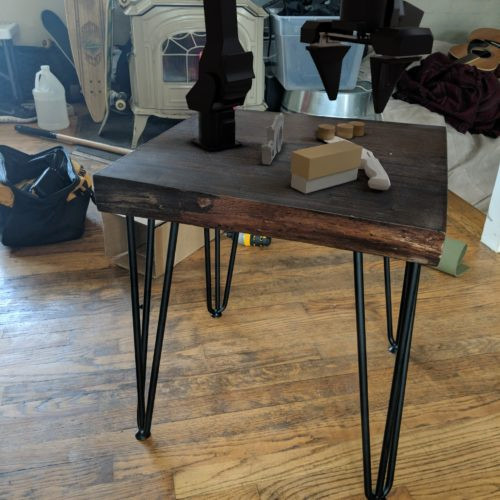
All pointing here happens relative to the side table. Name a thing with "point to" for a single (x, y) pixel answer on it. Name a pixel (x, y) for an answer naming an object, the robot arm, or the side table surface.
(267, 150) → the garden wall model
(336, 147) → the oblong tan box
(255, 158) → the side table surface
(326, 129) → the tan squat cylinder
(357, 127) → the crumb
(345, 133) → the short tan cylinder
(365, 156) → the knife
